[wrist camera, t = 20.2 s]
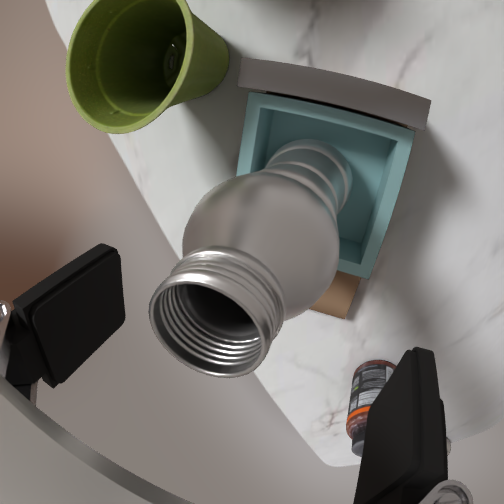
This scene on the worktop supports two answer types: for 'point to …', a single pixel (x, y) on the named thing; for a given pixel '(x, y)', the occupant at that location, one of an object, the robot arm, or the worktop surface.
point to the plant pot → (140, 61)
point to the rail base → (346, 97)
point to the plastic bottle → (253, 260)
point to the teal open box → (354, 151)
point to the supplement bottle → (365, 398)
